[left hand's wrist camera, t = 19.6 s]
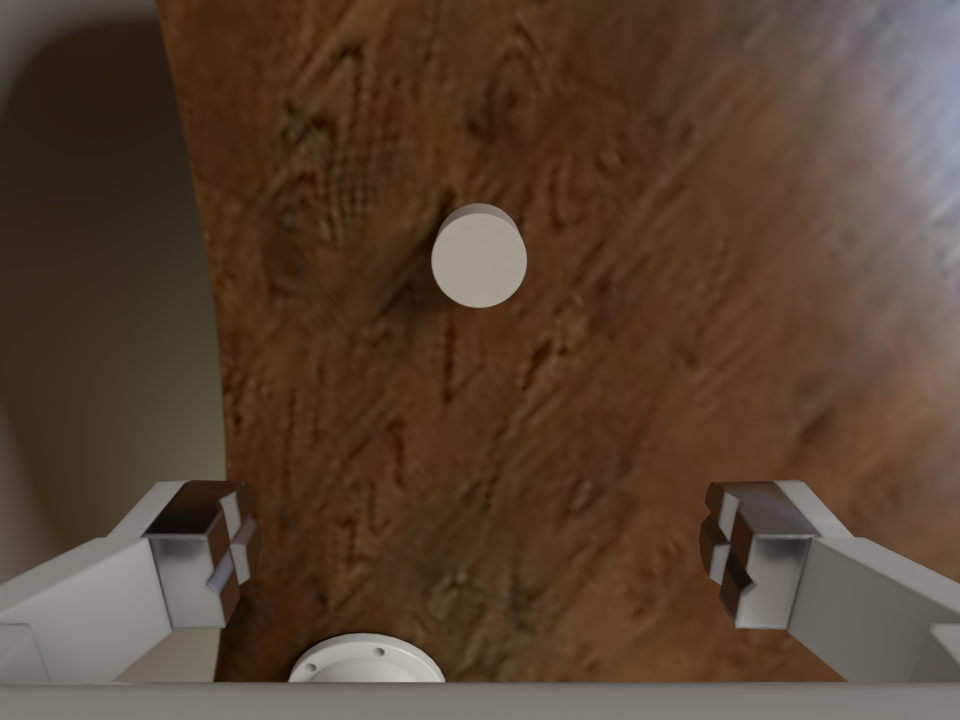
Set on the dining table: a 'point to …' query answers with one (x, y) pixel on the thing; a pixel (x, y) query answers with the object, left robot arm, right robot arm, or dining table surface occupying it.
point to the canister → (478, 256)
